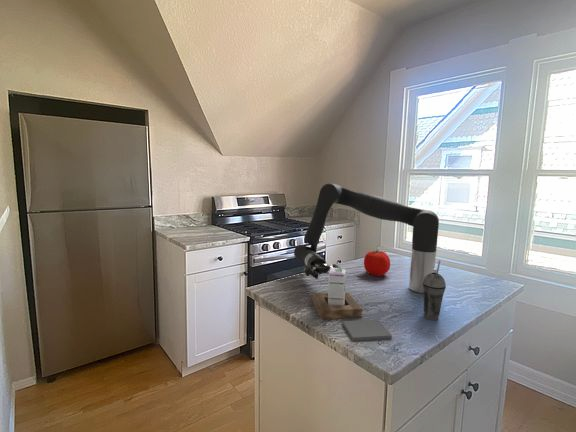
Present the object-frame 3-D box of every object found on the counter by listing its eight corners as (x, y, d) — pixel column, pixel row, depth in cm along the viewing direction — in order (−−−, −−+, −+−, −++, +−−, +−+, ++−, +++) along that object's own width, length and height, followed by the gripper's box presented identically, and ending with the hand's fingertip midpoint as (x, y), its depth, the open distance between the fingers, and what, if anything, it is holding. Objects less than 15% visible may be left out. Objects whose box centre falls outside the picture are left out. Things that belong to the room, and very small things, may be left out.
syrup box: (344, 313, 110) (346, 273, 108) (327, 311, 112) (328, 271, 109) (344, 306, 116) (346, 268, 114) (328, 304, 117) (329, 266, 115)
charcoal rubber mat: (377, 322, 104) (378, 319, 104) (391, 338, 95) (391, 335, 94) (342, 324, 103) (342, 321, 103) (352, 340, 93) (352, 337, 93)
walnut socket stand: (348, 300, 121) (349, 292, 121) (361, 317, 108) (362, 308, 107) (312, 301, 120) (312, 294, 119) (321, 319, 106) (321, 310, 105)
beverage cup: (415, 312, 112) (420, 257, 109) (435, 312, 113) (440, 257, 110) (426, 322, 105) (431, 263, 102) (447, 321, 106) (453, 263, 103)
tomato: (382, 269, 159) (384, 247, 158) (394, 278, 146) (396, 254, 145) (359, 270, 158) (360, 247, 156) (369, 279, 145) (371, 255, 143)
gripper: (299, 255, 135) (310, 267, 120) (331, 254, 138) (345, 265, 123) (299, 272, 136) (309, 286, 121) (330, 270, 139) (344, 284, 124)
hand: (327, 275), depth 122 cm, fingers open, 8 cm apart
